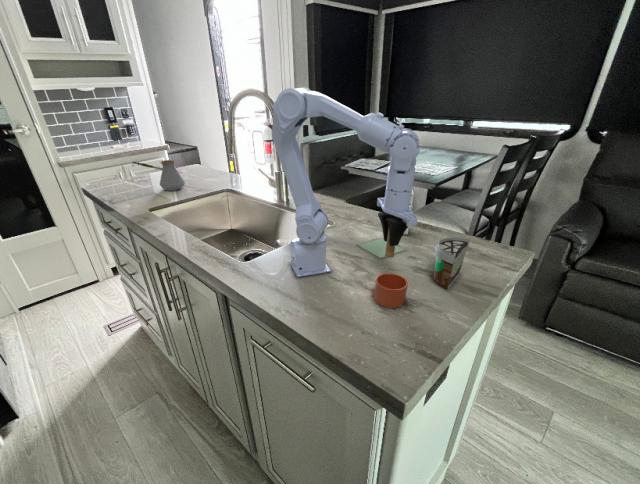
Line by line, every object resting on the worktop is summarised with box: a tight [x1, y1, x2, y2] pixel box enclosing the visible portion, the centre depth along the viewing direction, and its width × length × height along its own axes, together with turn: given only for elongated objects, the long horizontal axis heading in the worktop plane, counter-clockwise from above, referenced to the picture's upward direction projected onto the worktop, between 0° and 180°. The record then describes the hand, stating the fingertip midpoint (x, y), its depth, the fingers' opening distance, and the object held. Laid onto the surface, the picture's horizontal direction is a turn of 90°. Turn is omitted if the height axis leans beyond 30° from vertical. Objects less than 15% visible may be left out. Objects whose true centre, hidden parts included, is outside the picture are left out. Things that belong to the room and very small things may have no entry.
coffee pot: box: [131, 159, 186, 192], centre depth 150 cm, size 21×12×15 cm, turn 131°
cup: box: [373, 272, 409, 309], centre depth 76 cm, size 7×7×5 cm
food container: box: [433, 236, 470, 290], centre depth 82 cm, size 12×6×10 cm, turn 141°
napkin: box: [358, 237, 405, 259], centre depth 100 cm, size 10×10×1 cm
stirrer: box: [385, 229, 395, 259], centre depth 79 cm, size 2×2×9 cm
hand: (391, 242), depth 79 cm, fingers closed on stirrer, 2 cm apart
